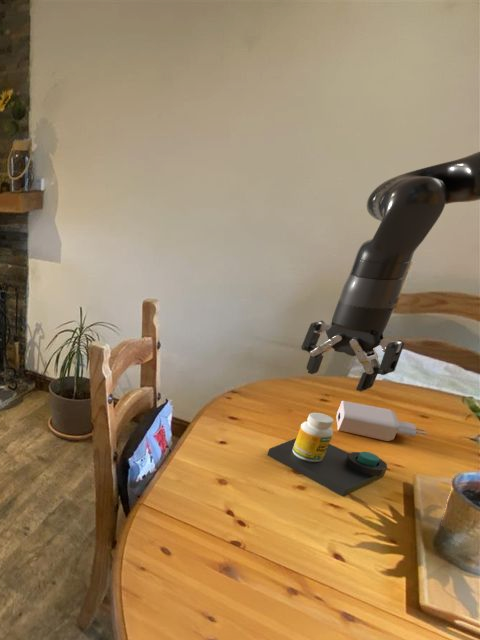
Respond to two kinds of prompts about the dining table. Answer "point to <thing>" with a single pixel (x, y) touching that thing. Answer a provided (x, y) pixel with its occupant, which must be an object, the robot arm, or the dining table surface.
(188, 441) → the dining table surface
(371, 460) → the tare button
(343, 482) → the scale
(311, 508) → the dining table surface
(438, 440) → the dining table surface
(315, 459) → the supplement bottle
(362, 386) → the robot arm
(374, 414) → the charger
